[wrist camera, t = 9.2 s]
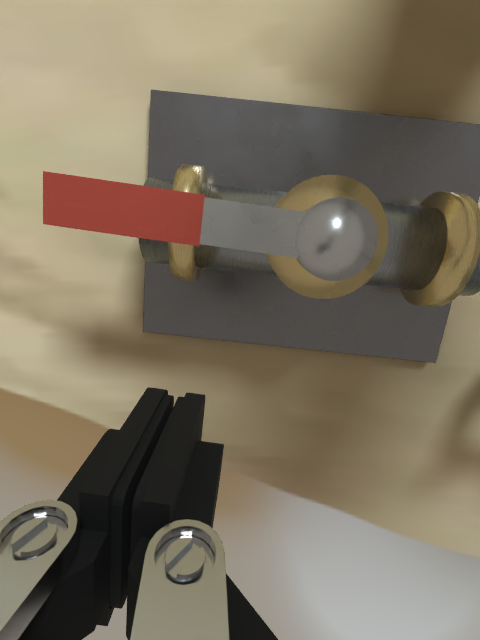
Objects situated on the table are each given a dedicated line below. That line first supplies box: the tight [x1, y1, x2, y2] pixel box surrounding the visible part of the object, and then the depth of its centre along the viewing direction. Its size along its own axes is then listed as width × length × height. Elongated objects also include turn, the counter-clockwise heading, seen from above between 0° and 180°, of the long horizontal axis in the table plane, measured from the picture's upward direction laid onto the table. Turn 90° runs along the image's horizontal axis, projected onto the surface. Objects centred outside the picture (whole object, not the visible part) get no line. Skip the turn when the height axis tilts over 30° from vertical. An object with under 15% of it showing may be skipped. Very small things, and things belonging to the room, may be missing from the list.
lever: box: [43, 171, 378, 281], centre depth 16 cm, size 15×4×2 cm, turn 82°
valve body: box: [139, 90, 480, 363], centre depth 21 cm, size 16×22×8 cm
